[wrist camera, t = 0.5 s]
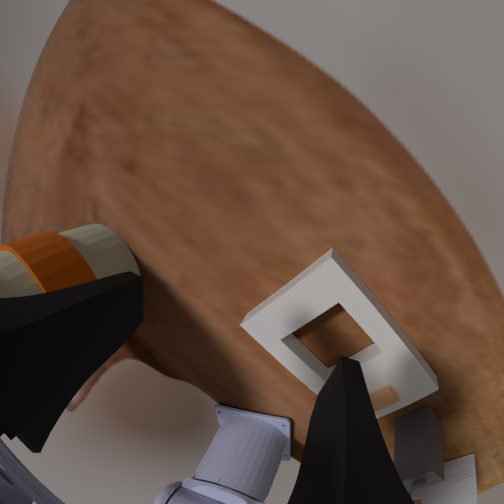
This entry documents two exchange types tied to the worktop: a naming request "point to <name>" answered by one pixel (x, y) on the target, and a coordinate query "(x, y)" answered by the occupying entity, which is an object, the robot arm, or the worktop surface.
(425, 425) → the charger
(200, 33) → the worktop surface
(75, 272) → the reusable coffee cup
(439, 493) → the supplement box
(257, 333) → the white board with cutouts
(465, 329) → the worktop surface
